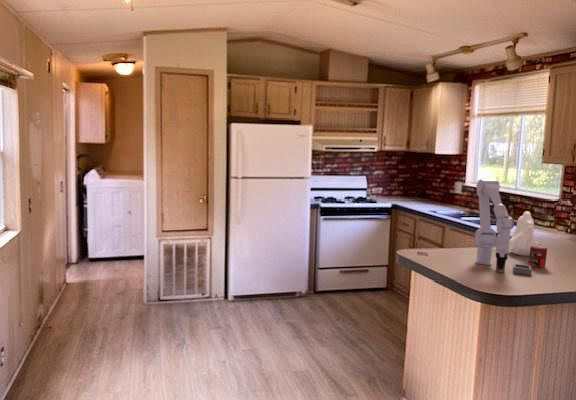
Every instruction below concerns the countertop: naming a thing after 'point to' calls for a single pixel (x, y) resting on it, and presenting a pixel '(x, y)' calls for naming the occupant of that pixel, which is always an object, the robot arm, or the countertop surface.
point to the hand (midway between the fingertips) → (500, 268)
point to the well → (522, 269)
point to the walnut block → (500, 269)
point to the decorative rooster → (523, 235)
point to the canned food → (537, 256)
